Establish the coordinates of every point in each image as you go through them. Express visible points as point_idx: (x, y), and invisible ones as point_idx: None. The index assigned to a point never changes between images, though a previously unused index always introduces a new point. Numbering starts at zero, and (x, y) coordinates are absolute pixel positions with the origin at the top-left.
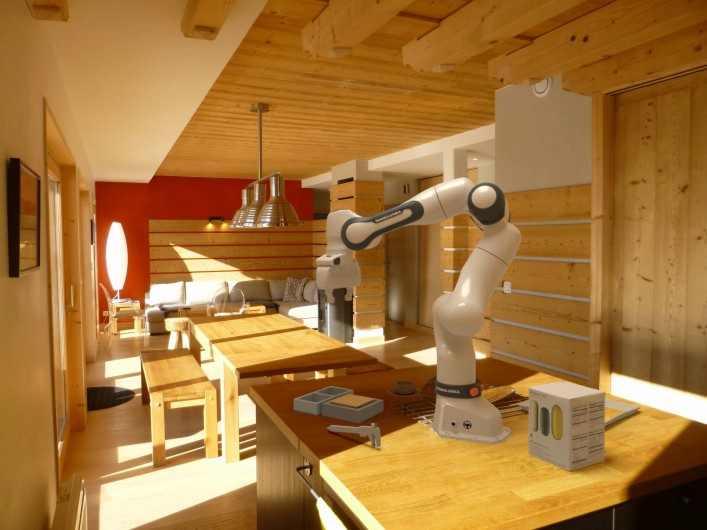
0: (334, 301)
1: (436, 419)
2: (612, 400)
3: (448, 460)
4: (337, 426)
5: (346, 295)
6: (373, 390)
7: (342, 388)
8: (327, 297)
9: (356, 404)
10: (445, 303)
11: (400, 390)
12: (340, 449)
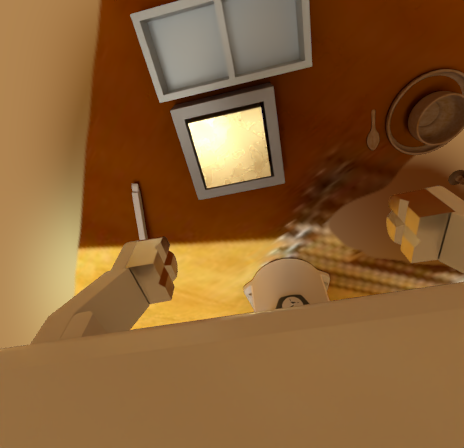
0: (174, 274)
1: (259, 287)
2: None
3: (196, 320)
4: (135, 212)
5: (416, 235)
6: (432, 13)
7: (305, 27)
8: (107, 273)
9: (214, 179)
10: None
11: (409, 124)
12: (114, 242)
